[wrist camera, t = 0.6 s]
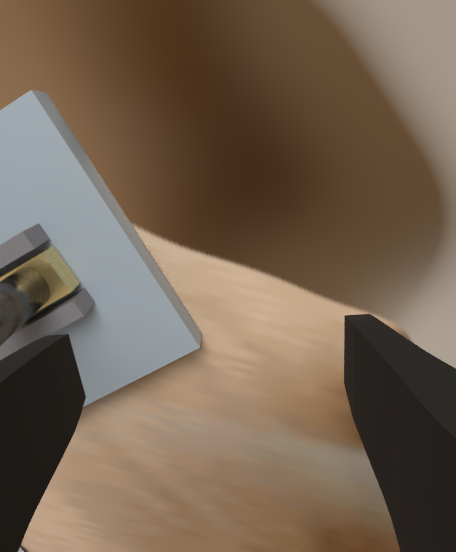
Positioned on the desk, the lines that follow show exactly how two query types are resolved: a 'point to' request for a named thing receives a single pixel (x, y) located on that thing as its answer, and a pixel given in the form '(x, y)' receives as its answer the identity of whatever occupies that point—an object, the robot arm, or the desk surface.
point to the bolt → (33, 289)
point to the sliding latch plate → (83, 255)
